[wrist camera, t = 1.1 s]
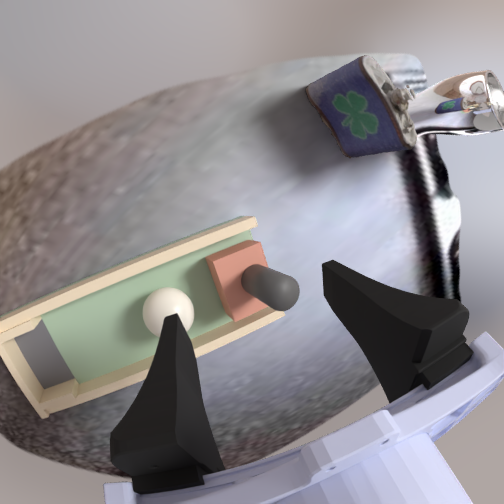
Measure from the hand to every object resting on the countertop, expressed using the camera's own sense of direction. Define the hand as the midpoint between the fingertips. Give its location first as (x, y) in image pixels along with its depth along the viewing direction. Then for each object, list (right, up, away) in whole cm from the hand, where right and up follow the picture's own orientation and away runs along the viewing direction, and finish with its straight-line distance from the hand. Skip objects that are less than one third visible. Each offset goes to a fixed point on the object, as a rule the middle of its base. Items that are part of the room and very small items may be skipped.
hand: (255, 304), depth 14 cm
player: (-1, 0, +12) cm, 12 cm away
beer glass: (+19, +20, +19) cm, 34 cm away
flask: (+8, +16, +15) cm, 24 cm away
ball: (-6, -2, +8) cm, 11 cm away
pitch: (-10, -3, +10) cm, 15 cm away
